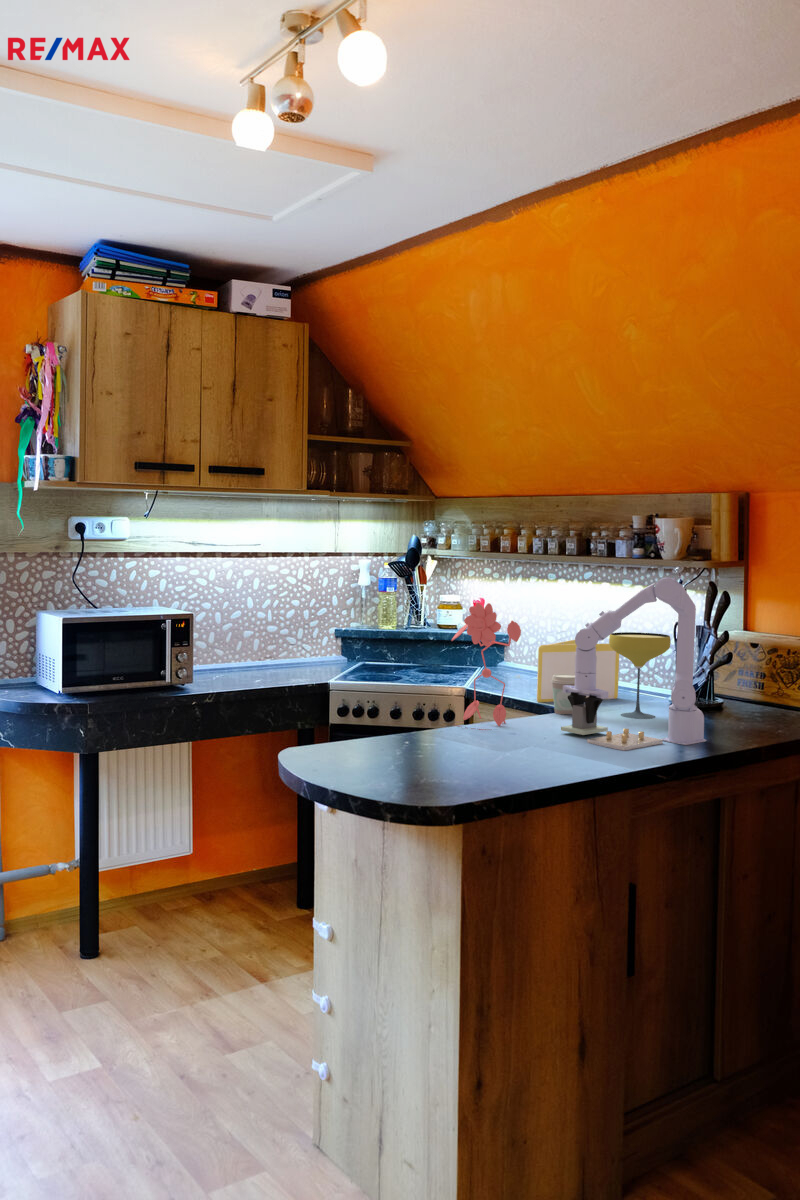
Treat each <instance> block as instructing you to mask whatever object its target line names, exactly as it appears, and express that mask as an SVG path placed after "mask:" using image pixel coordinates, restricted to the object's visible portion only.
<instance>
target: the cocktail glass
mask: <svg viewBox="0 0 800 1200" xmlns="http://www.w3.org/2000/svg"><path fill="white" fill-rule="evenodd" d="M671 642H672V641H671V636H670V635H668V634H663V633H657V632H656V633H652V632H635V631H634V632H631V631H630V632H629V631H627V632H624V631H622V632H613V633H612V634H610V635H609V636H608V643H609V644H610V647H611V648H612V649H613V650H614V651H616V652H617V653H619V656H622V657H624V658H626V659H628V660H629V661H630V662H631V663H632V664H633V666H634V667H635V668H636V669H637V680H636V681H637V687H636V688H637V689H636V703H635V709H634V711H632V712H622V713H621V714H620V716H621V717H623V718H628V719H632V720H633V719H635V720H652V719H655V718H656V715H653V714H649V713H645V712H642V711H641V706H640V679H641V678H640V675H641V669H642V668H644V666H645V665H646V664H647V663H648V662H650V661H651V660H653V659H655V658H657V657H660V656H661V655H664V654H665V653H666V652H667V651H668V650H669V649H670V648H671V645H672V644H671Z"/></svg>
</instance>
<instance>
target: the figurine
mask: <svg viewBox="0 0 800 1200" xmlns="http://www.w3.org/2000/svg"><path fill="white" fill-rule="evenodd" d="M493 608H494V607H493V606H492V604H491V603H490V602H488V603H487V604H486V605H485V607H484V606H483V605H482V604H481V603H480V602H476V603H475V606H474V605H472V606H470V607H469V609H468V611H469V613H470V615H468V616H466V617H465V618H464V620H463V621H464V625H463V626H462V627H461V628H460V629H459V630H458V631H457V632H456V633H455V634H454V636H453V637H452V638H451V640H450V641H451V642H453V641H454V640H456V639H458V638H459V637H460V636H461V635H462V634H463V633H464V632H465V631H466V635H468V636H471V641H472V643H473V644H474V645H478V644H479V646H480V647H483V646H485V647H484V648H483V649H481V651H480V652H481V657H482V658H481V659H482V661H483V665H484V669H482V671H481V674H480V675H478V676H477V677H475V678H474V680H473V690H474V691H473V696H474V699H473V702H471V703H470V704H469V705H468V706H467V707H466V709H465V711H464V713H463V716H462V717H463V718H462V719H463V720H464V721H467V720H469V719H470V718H471V717H472V716H473V715H474V714H476V712H477V715H478V718H479V720H480V719H482V716H481V713H480V709H479V706H480V702H479V700H476V696H477V695H476V680H477V679H478V678H479V679H480V678H481V677H482V676H483V678H485V679H488V678H490V677H491V678H493V679H494V680H496V681H498V682H499V683H501V684H503V687H502V693H501V697H500V703H499V704H497V705H496V706H495V707H494V709H493V711H492V716H493V717H492V719H493V720H494V722H495V723H496V725H497V726H498V727H500V726H501V725H502V724H506V723H507V722H506V717H507V710H506V707H505V706H504V705H503V703H502V702H503V698H504V692H505V689H506V688H505V687H506V683H505V682H503V681H502V680H500V679H498V678H496V677H495V676H492V671H491V669H489V668H488V667H487V666H486V660H485V656H484V651H486V650H488V648H489V647H492V645H495V644H498V645H502V646H506V647H510V646H511V642H512V640H513V641H514V642H515V643H517V642H518V641H519V640H520V637H521V635H522V629H521V627H520V624H518V623H517V622H516V621H514V620H511V621H510V622H509V623H508V625H507V627H506V632H507V635H508V638H509V639H508V643H504V642H499V641H496V638H497V637H496V636H497V635H496V634H495V633H497V632H499V631H500V629H501V628H502V625H501V623H500V622H497V615H498V614H497V613H496V611H495V612H493V611H494V610H493ZM451 725H452V726H455V727H457V728H462V726H459V725H456V724H454V723H453V724H451ZM464 727H465V728H464V729H467V727H466V726H464ZM470 728H471V730H475V728H474V727H473V728H472V727H470ZM478 730H479V731H491V729H488V728H487V729H486V728H483V729H482V728H478Z"/></svg>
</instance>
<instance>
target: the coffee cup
mask: <svg viewBox="0 0 800 1200" xmlns="http://www.w3.org/2000/svg"><path fill="white" fill-rule="evenodd" d="M551 682H552V686H553V698H554V701H553V710H554V713H555V714H557V715H561V714H572V710H573V709H572V706H571V704H570V702H569V700H568V696H569V695H570V694H571V693H564V692H563V686H564V685H571V686H575V675H568V674H557V675H553V678H552V681H551Z"/></svg>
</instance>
